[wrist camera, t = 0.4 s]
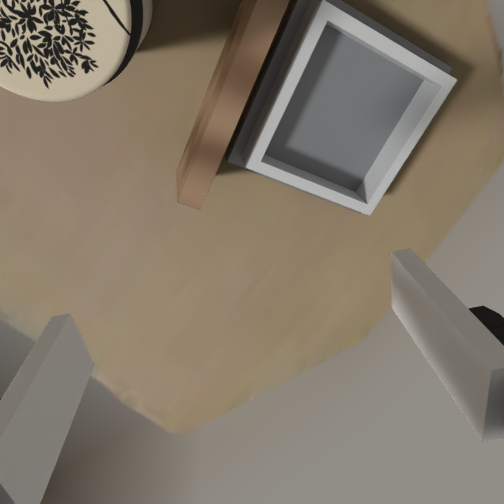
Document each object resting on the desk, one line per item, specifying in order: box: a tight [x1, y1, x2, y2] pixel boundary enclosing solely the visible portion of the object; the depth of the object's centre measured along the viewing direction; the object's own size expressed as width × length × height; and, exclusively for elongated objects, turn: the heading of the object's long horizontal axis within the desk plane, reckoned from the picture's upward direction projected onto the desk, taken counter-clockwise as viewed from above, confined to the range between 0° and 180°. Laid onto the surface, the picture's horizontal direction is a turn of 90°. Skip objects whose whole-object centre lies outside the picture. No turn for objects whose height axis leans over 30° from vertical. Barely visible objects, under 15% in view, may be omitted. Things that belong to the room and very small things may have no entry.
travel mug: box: [0, 0, 153, 102], centre depth 23 cm, size 8×8×18 cm
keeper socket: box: [226, 0, 457, 216], centre depth 37 cm, size 16×16×4 cm
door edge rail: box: [177, 0, 290, 210], centre depth 32 cm, size 22×2×7 cm, turn 155°
